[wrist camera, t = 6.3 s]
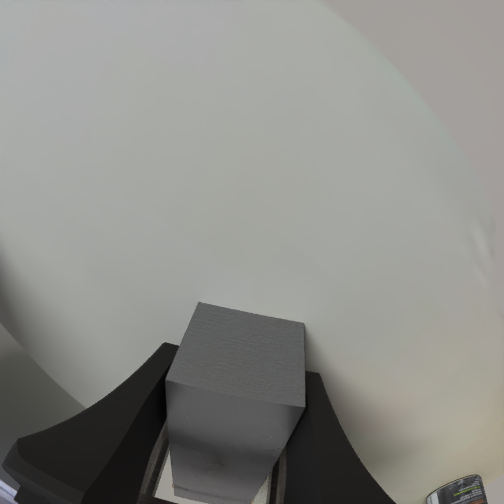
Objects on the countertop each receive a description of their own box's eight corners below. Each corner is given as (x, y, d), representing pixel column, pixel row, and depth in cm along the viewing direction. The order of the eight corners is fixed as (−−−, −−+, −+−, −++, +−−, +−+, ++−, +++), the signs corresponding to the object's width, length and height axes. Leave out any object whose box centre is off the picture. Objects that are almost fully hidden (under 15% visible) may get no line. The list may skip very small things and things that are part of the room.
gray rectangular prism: (189, 441, 17) (173, 495, 13) (197, 301, 12) (163, 378, 8) (255, 454, 17) (247, 510, 13) (304, 322, 12) (307, 407, 8)
